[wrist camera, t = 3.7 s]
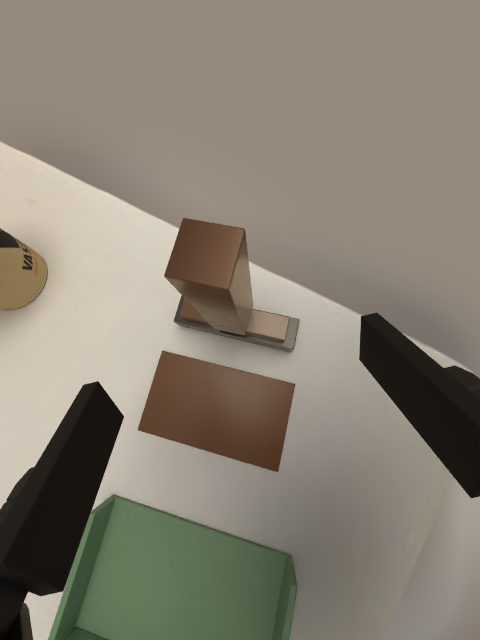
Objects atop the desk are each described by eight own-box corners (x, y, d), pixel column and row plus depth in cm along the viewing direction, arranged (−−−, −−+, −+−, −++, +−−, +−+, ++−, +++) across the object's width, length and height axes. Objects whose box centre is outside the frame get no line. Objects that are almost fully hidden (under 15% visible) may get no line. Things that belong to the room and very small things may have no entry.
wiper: (296, 323, 26) (348, 245, 11) (290, 351, 25) (336, 312, 10) (187, 299, 27) (96, 202, 12) (179, 325, 27) (73, 257, 12)
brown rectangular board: (295, 384, 24) (295, 384, 24) (277, 471, 23) (277, 472, 23) (162, 350, 26) (162, 350, 26) (138, 429, 25) (137, 429, 25)
